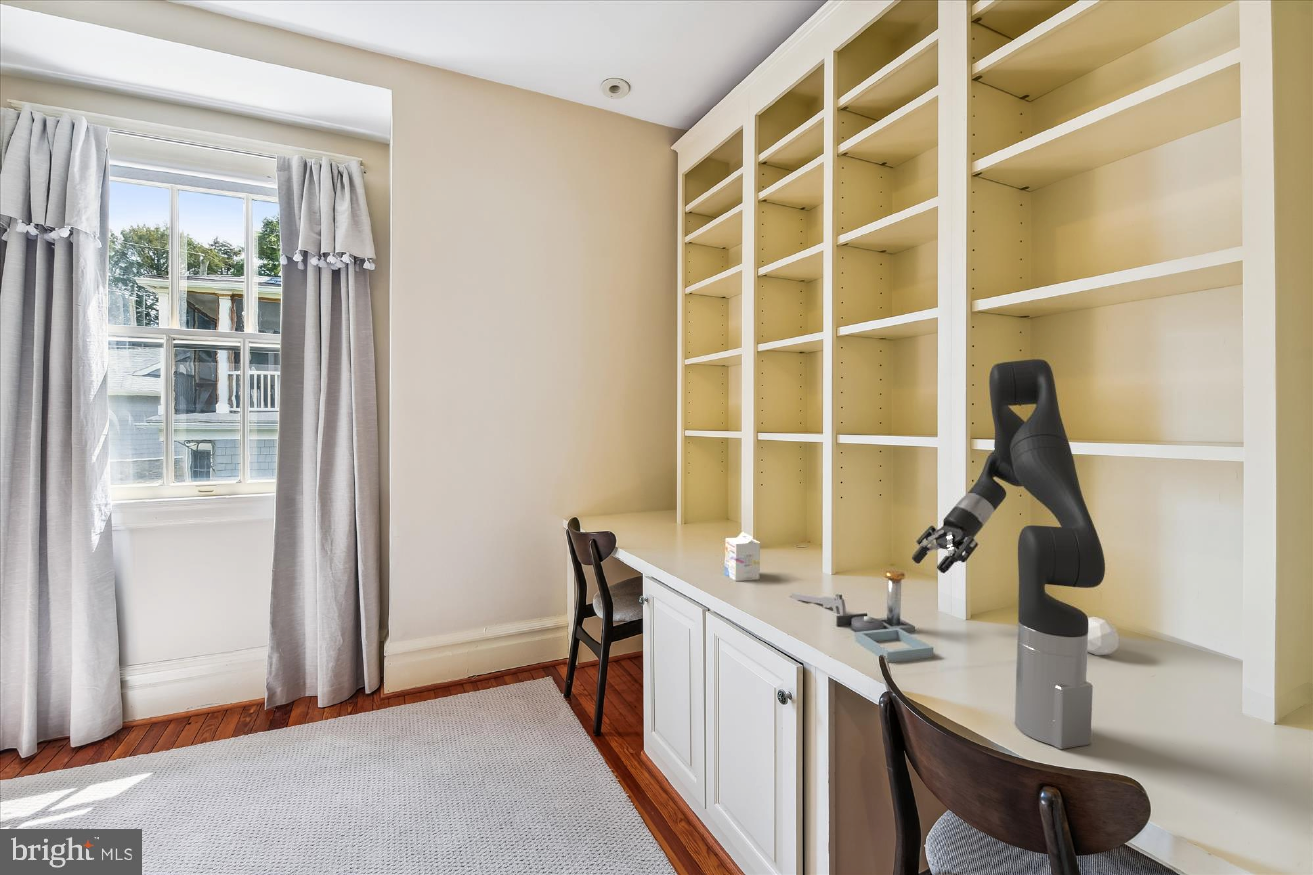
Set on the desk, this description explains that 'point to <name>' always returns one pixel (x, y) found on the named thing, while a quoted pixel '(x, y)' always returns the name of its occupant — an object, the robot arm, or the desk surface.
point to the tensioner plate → (870, 623)
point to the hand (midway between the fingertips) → (927, 565)
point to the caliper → (825, 601)
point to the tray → (916, 652)
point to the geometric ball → (1101, 637)
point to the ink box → (742, 558)
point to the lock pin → (894, 596)
